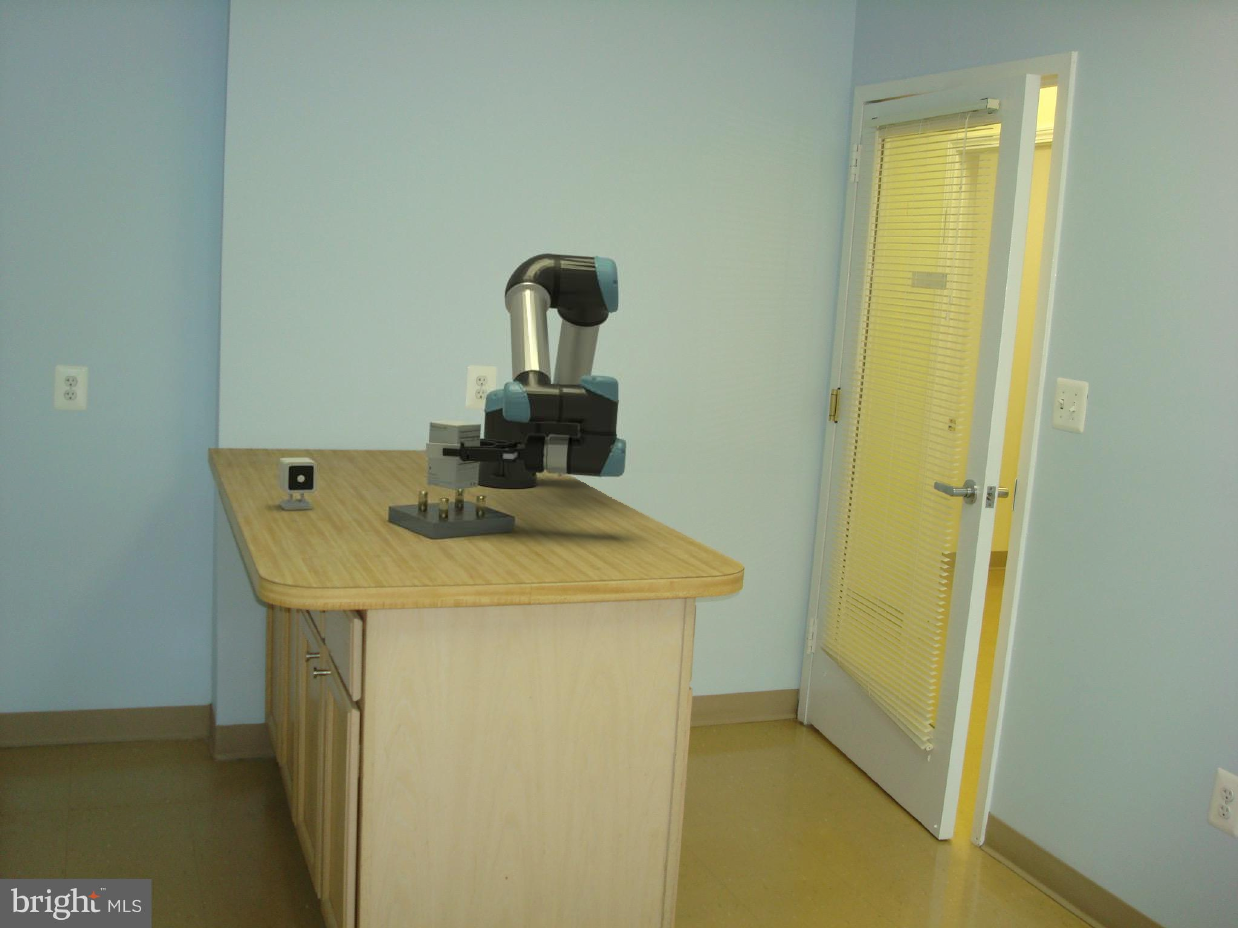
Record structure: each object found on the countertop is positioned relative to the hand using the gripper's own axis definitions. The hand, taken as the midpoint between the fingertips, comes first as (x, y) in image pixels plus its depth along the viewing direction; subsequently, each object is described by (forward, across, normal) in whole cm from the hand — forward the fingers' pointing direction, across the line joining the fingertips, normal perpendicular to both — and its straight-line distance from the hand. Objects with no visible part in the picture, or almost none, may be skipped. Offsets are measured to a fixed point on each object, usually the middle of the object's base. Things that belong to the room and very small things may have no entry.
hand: (431, 446), depth 225 cm
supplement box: (-4, 0, -8) cm, 9 cm away
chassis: (-4, 0, -16) cm, 16 cm away
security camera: (+29, +9, -16) cm, 34 cm away
